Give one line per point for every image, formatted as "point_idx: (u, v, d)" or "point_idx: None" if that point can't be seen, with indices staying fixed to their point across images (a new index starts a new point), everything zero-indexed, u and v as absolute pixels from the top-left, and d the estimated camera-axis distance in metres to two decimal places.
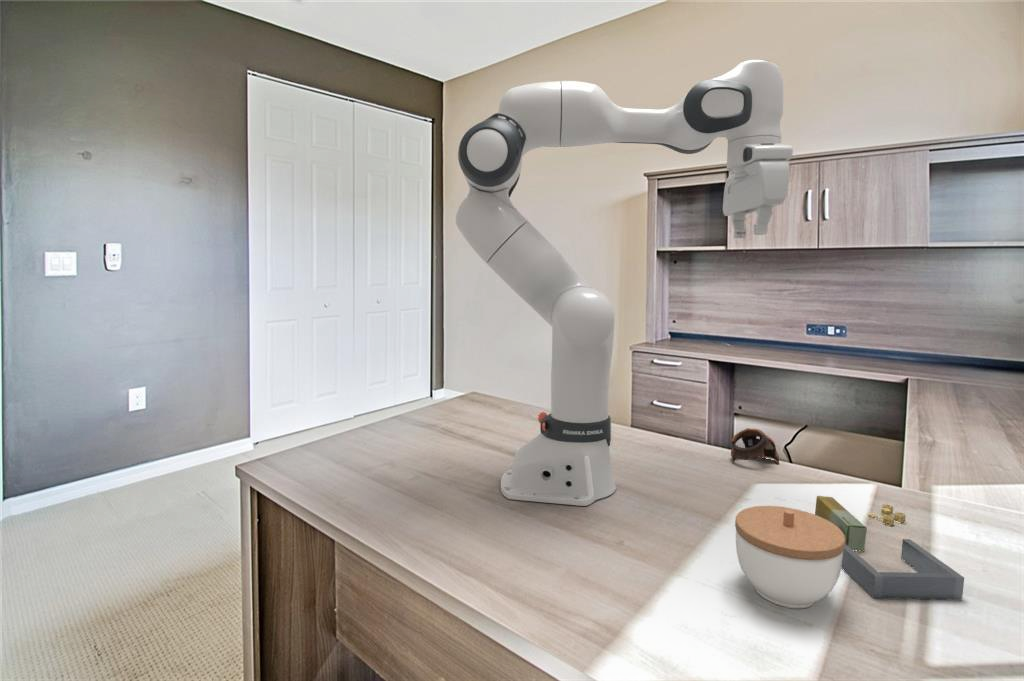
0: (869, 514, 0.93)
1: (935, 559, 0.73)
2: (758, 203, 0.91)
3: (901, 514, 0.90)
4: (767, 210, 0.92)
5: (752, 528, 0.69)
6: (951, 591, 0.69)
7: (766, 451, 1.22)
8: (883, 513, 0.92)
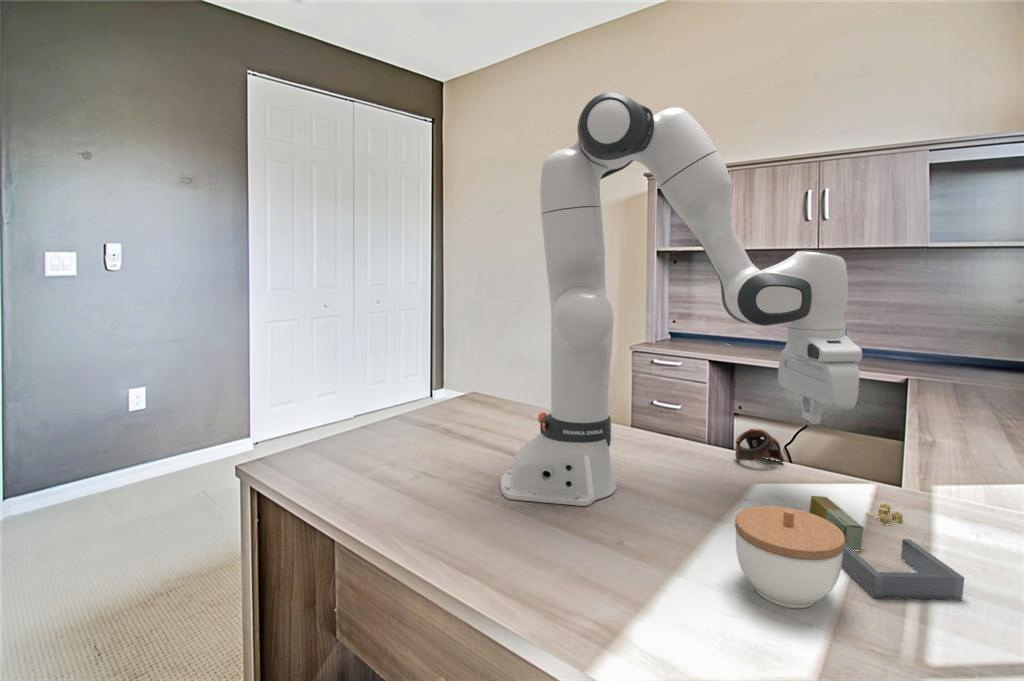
0: (866, 514, 0.93)
1: (935, 559, 0.73)
2: (825, 404, 0.88)
3: (898, 513, 0.91)
4: (821, 403, 0.93)
5: (752, 528, 0.69)
6: (951, 591, 0.69)
7: (770, 452, 1.21)
8: (880, 513, 0.93)
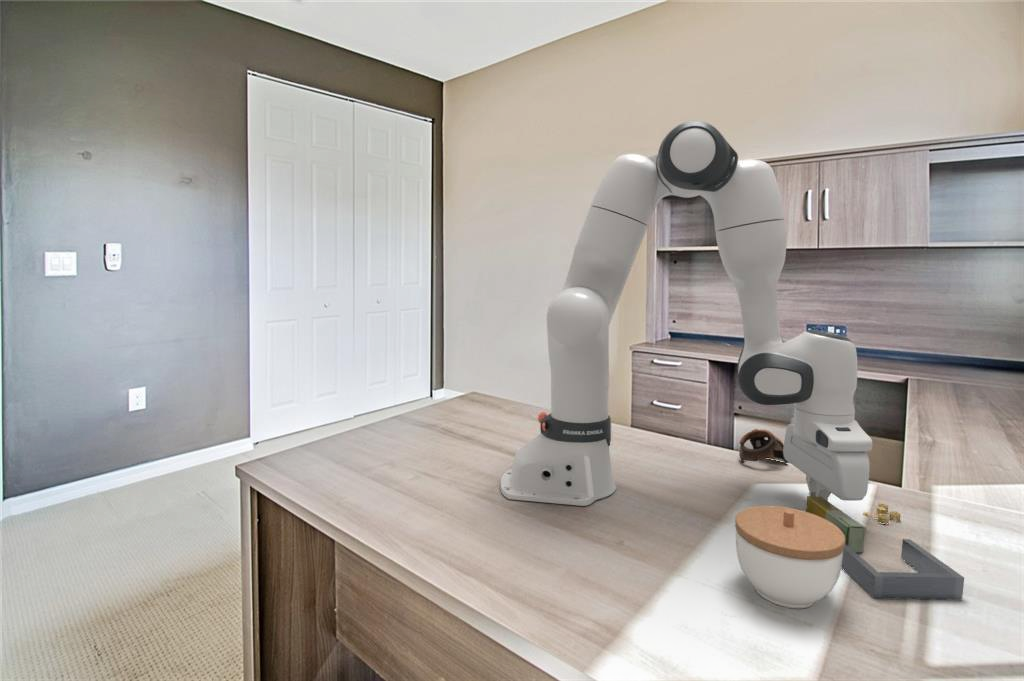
0: (864, 513, 0.93)
1: (935, 559, 0.73)
2: (834, 494, 0.86)
3: (896, 513, 0.91)
4: None
5: (752, 528, 0.69)
6: (951, 591, 0.69)
7: (774, 452, 1.21)
8: (878, 512, 0.93)
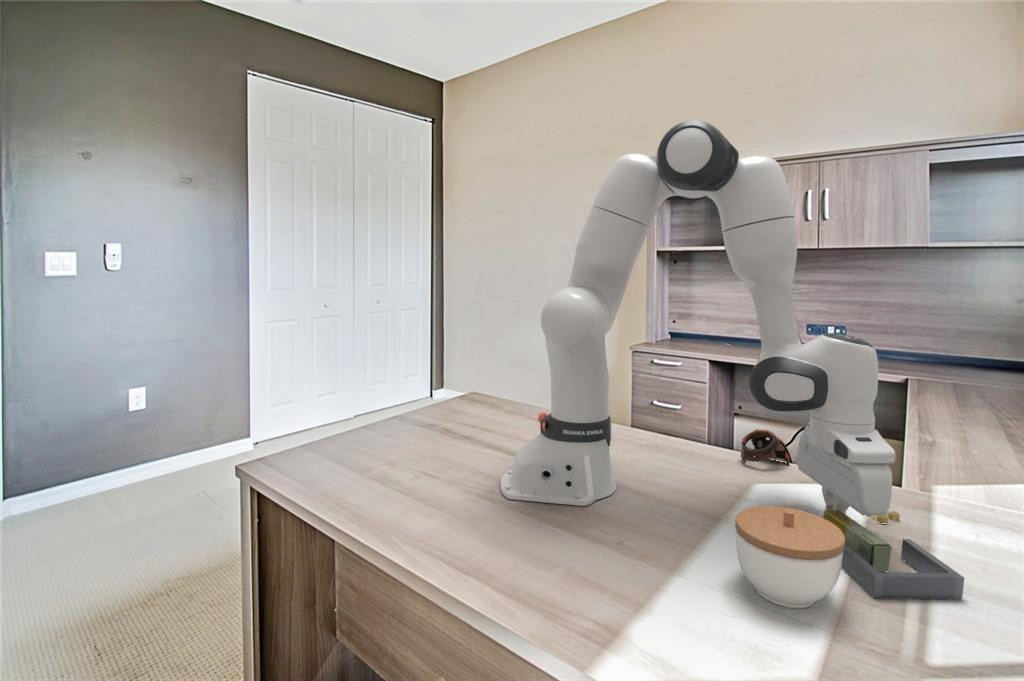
0: None
1: (935, 559, 0.73)
2: (854, 508, 0.80)
3: (895, 513, 0.91)
4: None
5: (752, 528, 0.69)
6: (951, 591, 0.69)
7: (776, 452, 1.21)
8: None
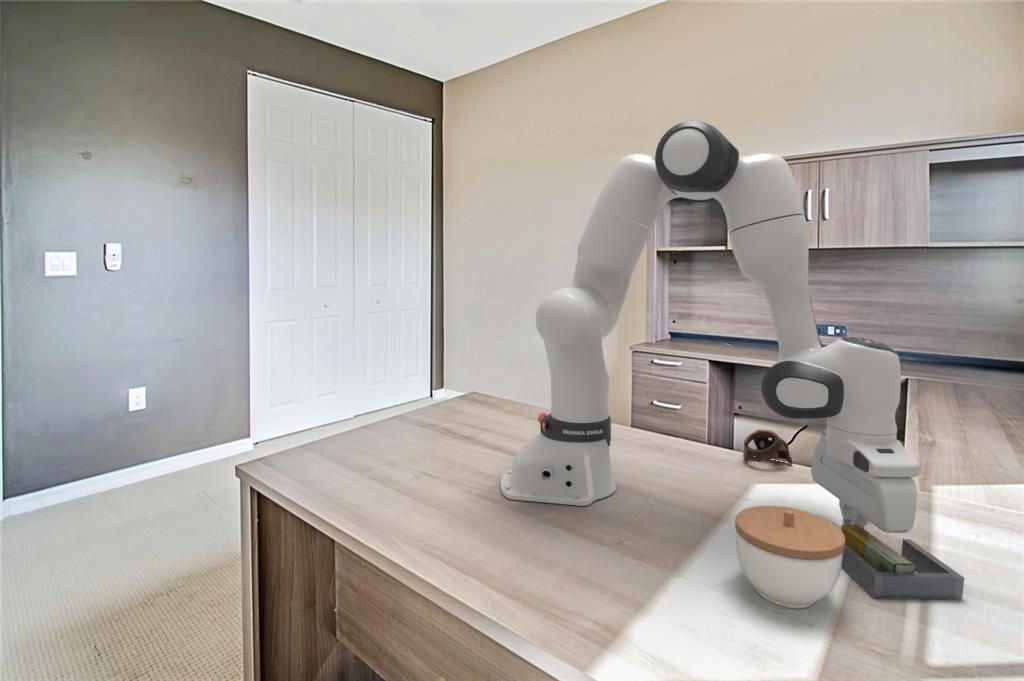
0: None
1: (935, 559, 0.73)
2: (875, 524, 0.75)
3: None
4: None
5: (752, 528, 0.69)
6: (951, 591, 0.69)
7: (778, 452, 1.21)
8: None
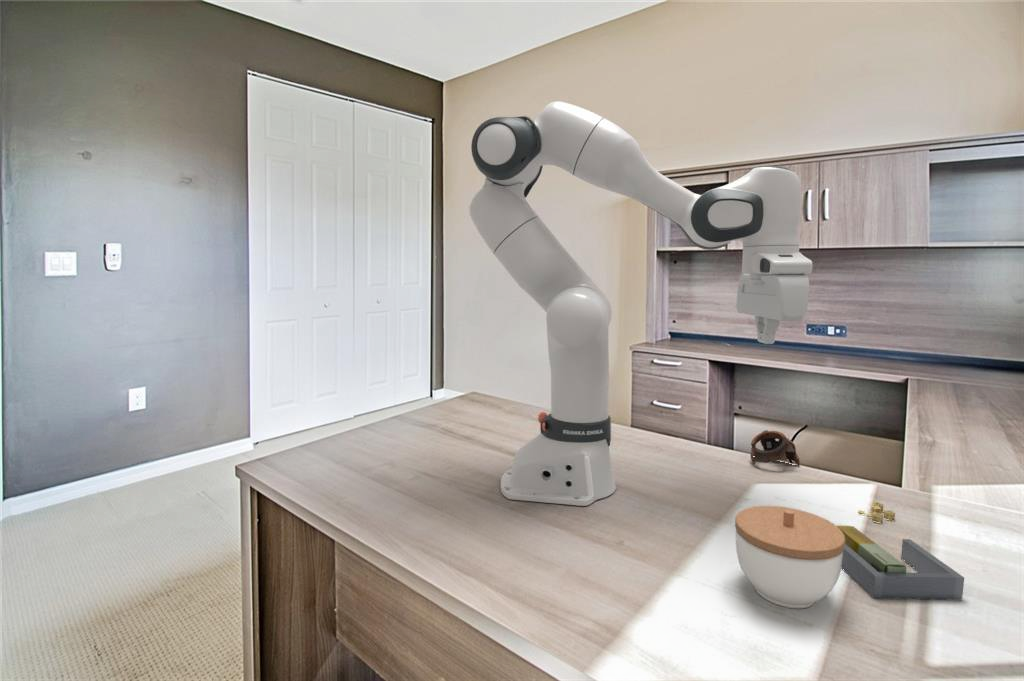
0: (859, 511, 0.94)
1: (935, 559, 0.73)
2: (776, 318, 0.88)
3: (890, 512, 0.91)
4: (774, 322, 0.93)
5: (752, 528, 0.69)
6: (951, 591, 0.69)
7: (785, 453, 1.20)
8: (873, 511, 0.93)
